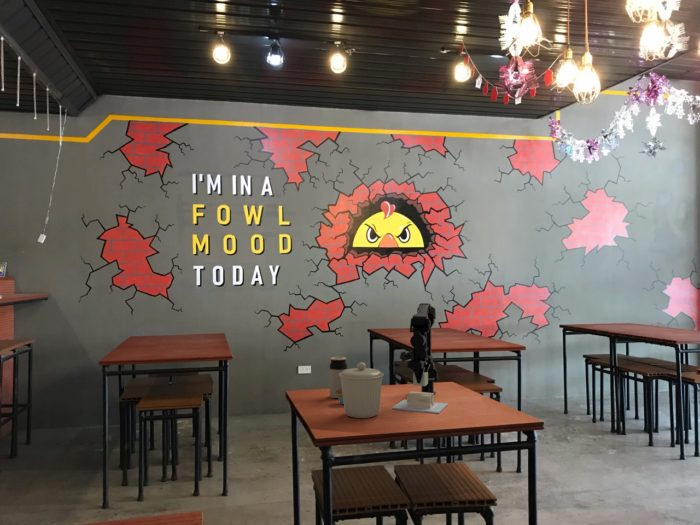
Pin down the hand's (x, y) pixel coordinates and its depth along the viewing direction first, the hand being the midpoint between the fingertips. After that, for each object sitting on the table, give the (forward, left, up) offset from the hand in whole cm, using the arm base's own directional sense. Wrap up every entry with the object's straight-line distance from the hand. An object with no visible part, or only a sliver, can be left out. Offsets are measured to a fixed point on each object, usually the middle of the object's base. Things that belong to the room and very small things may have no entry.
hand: (420, 382), depth 235 cm
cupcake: (+6, -32, -11) cm, 34 cm away
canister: (+22, -18, -11) cm, 31 cm away
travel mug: (-4, -40, -11) cm, 42 cm away
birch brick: (0, 0, -10) cm, 10 cm away
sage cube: (0, 0, -1) cm, 1 cm away
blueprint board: (0, 0, -10) cm, 11 cm away
